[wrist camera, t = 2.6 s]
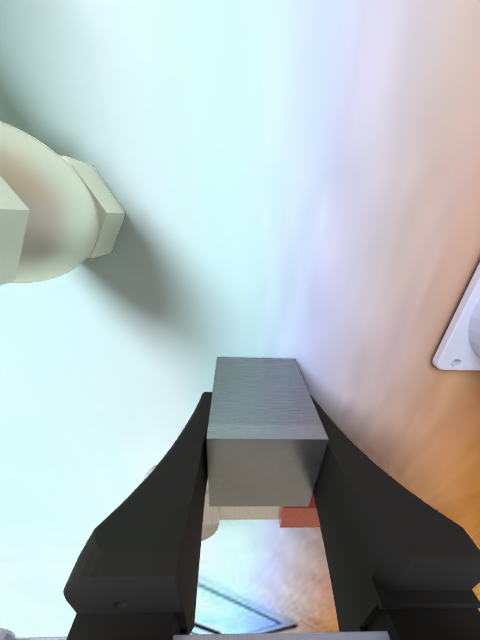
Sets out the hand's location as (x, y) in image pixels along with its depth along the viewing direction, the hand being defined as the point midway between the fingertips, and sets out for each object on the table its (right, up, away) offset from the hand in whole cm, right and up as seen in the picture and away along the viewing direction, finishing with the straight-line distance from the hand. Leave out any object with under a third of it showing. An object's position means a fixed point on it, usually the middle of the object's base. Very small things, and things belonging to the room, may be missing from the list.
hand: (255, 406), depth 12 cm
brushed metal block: (0, +1, +1) cm, 1 cm away
